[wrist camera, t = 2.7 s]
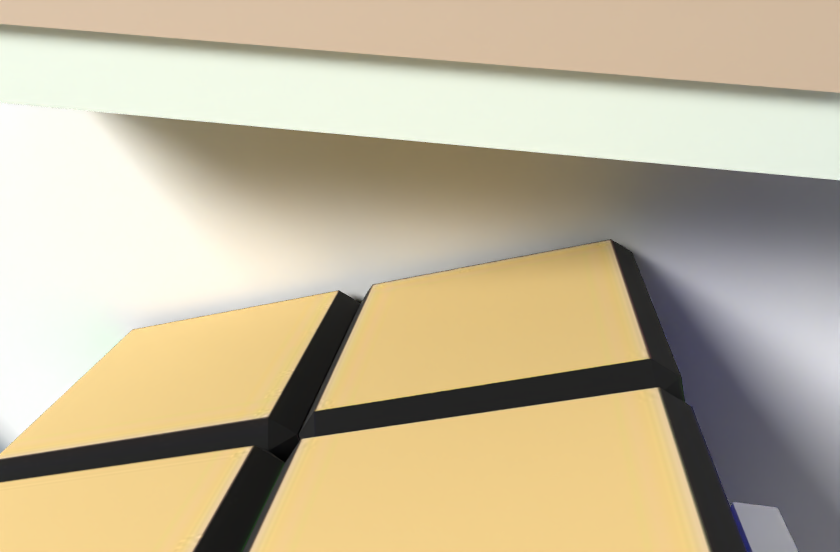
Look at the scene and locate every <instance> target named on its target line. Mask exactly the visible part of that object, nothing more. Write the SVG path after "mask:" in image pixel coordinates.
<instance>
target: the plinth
mask: <svg viewBox="0 0 840 552" xmlns="http://www.w3.org/2000/svg"><path fill="white" fill-rule="evenodd" d="M0 103H7V104H18V105H29V106H40V107H51V108H61V109H72V110H83V111H94V112H105V113H116V114H127V115H137V116H148V117H159V118H170V119H181V120H192V121H202V122H213V123H224V124H235V125H246V126H257V127H268V128H278V129H289V130H300V131H311V132H322V133H333V134H343V135H354V136H365V137H376V138H387V139H398V140H408V141H419V142H430V143H441V144H452V145H463V146H474V147H484V148H495V149H506V150H517V151H528V152H539V153H549V154H560V155H571V156H582V157H593V158H604V159H614V160H625V161H636V162H647V163H658V164H669V165H680V166H690V167H701V168H712V169H723V170H734V171H745V172H755V173H766V174H777V175H788V176H799V177H810V178H821V179H831V180H840V0H0Z"/></svg>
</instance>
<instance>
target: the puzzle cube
mask: <svg viewBox="0 0 840 552" xmlns="http://www.w3.org/2000/svg"><path fill="white" fill-rule="evenodd" d="M0 552H747V550H746V548H745V545H744V542H743V540H742V537H741V534H740V532H739V529H738V527H737V524H736V521H735V519H734V516H733V513H732V511H731V508H730V506H729V503H728V500H727V498H726V495H725V492H724V490H723V487H722V485H721V482H720V479H719V477H718V474H717V471H716V469H715V466H714V464H713V461H712V458H711V456H710V453H709V450H708V448H707V445H706V443H705V440H704V437H703V435H702V432H701V429H700V427H699V424H698V422H697V419H696V416H695V414H694V411H693V408H692V407H691V406H689V405H688V404H686V403H685V400H684V393H683V386H682V379H681V375H680V373H679V370H678V368H677V365H676V363H675V360H674V358H673V355H672V352H671V350H670V347H669V345H668V342H667V340H666V337H665V335H664V332H663V330H662V327H661V325H660V322H659V319H658V317H657V314H656V312H655V309H654V307H653V304H652V302H651V299H650V297H649V294H648V292H647V289H646V286H645V284H644V281H643V279H642V276H641V274H640V271H639V269H638V266H637V264H636V261H635V259H634V256H633V253H632V252H630V251H629V250H627V249H625V248H624V247H622V246H621V245H619V244H617V243H616V242H614V241H613V240H611V239H610V240H605V241H600V242H594V243H589V244H584V245H578V246H573V247H568V248H563V249H557V250H552V251H547V252H542V253H536V254H531V255H526V256H520V257H515V258H510V259H505V260H499V261H494V262H489V263H484V264H478V265H473V266H468V267H462V268H457V269H452V270H447V271H441V272H436V273H431V274H426V275H420V276H415V277H410V278H404V279H399V280H394V281H389V282H383V283H378V284H373V285H372V286H371V288H370V289H369V291H368V292H367V294H366V296H365V297H364V299H363V300H362V302H361V304H360V303H359V302H357V301H356V300H354V299H352V298H351V297H349V296H347V295H346V294H344V293H342V292H341V291H333V292H328V293H323V294H318V295H312V296H307V297H302V298H296V299H291V300H286V301H281V302H275V303H270V304H265V305H260V306H254V307H249V308H244V309H239V310H233V311H228V312H223V313H217V314H212V315H207V316H202V317H196V318H191V319H186V320H181V321H175V322H170V323H165V324H159V325H154V326H149V327H144V328H138V329H133V330H131V331H130V332H129V333H128V334H127V335H126V336H125V337H124V338H123V339H122V340H121V341H120V342H119V343H118V344H117V345H115V346H114V347H113V348H112V349H111V350H110V351H109V352H108V353H107V354H106V355H105V356H104V357H103V358H102V359H101V360H99V361H98V362H97V363H96V364H95V365H94V366H93V367H92V368H91V369H90V370H89V371H88V372H87V373H86V374H85V375H84V376H82V377H81V378H80V379H79V380H78V381H77V382H76V383H75V384H74V385H73V386H72V387H71V388H70V389H69V390H68V391H66V392H65V393H64V394H63V395H62V396H61V397H60V398H59V399H58V400H57V401H56V402H55V403H54V404H53V405H52V406H50V407H49V408H48V409H47V410H46V411H45V412H44V413H43V414H42V415H41V416H40V417H39V418H38V419H37V420H36V421H34V422H33V423H32V424H31V425H30V426H29V427H28V428H27V429H26V430H25V431H24V432H23V433H22V434H21V435H20V436H18V437H17V438H16V439H15V440H14V441H13V442H12V443H11V444H10V445H9V446H8V447H7V448H6V449H5V450H4V451H3V452H2V453H0Z"/></svg>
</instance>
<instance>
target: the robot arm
mask: <svg viewBox="0 0 840 552" xmlns="http://www.w3.org/2000/svg"><path fill="white" fill-rule="evenodd" d="M731 511H732V513H733V516H734V519H735V521H736V524H737V527H738V529H739V532H740V534H741V537H742V540H743V542H744V545H745V548H746V550H747V552H798V549H797V547H796V545H795V543H794V541H793V539H792V537H791V535H790V533H789V531H788V528H787V526H786V524H785V522H784V520H783V518H782V516H781V514H780V512H779V510H778V508H777V507H769V506H762V505H754V504H746V503H738V502H732V505H731Z"/></svg>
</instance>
